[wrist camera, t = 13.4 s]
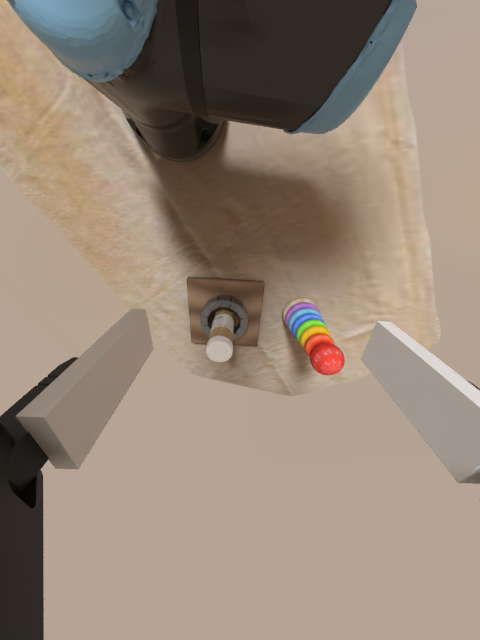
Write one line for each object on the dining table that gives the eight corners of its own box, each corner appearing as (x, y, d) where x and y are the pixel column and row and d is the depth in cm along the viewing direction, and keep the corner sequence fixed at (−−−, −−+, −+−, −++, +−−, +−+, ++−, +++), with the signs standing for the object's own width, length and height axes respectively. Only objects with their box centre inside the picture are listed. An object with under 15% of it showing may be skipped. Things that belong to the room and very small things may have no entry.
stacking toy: (285, 330, 49) (307, 392, 33) (278, 302, 45) (298, 355, 29) (318, 321, 48) (358, 381, 31) (313, 291, 44) (355, 341, 28)
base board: (188, 276, 43) (186, 279, 41) (263, 281, 43) (264, 283, 42) (192, 339, 50) (191, 342, 49) (256, 342, 51) (256, 345, 50)
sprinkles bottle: (217, 325, 47) (209, 365, 35) (212, 308, 45) (201, 344, 33) (237, 322, 46) (235, 361, 35) (232, 304, 44) (229, 339, 32)
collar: (201, 293, 43) (199, 299, 40) (248, 296, 43) (249, 301, 40) (203, 333, 48) (201, 340, 45) (245, 335, 48) (245, 342, 45)
